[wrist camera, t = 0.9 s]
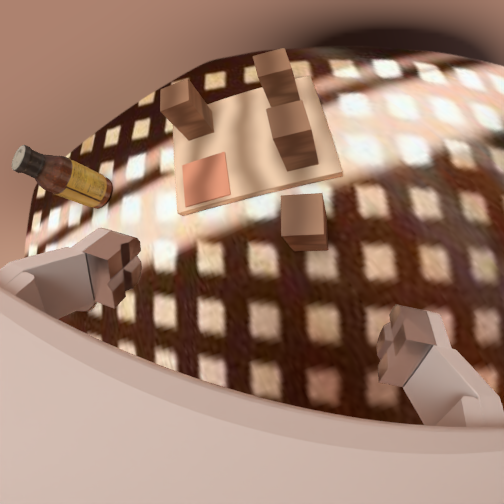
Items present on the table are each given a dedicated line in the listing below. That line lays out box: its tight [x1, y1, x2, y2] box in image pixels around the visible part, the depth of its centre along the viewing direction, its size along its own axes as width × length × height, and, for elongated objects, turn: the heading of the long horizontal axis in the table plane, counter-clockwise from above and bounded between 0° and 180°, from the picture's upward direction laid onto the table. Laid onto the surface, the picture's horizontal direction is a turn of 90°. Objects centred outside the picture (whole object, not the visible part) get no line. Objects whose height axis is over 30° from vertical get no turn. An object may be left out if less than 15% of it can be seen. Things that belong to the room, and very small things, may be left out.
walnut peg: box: [281, 193, 328, 251], centre depth 36 cm, size 4×4×9 cm
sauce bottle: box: [12, 145, 112, 208], centre depth 43 cm, size 7×6×20 cm
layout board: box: [160, 48, 342, 216], centre depth 41 cm, size 24×18×10 cm
